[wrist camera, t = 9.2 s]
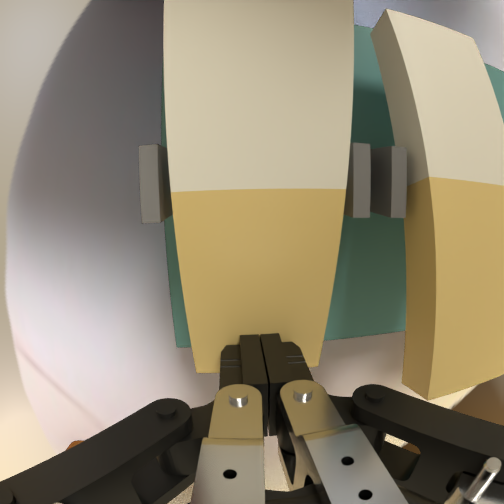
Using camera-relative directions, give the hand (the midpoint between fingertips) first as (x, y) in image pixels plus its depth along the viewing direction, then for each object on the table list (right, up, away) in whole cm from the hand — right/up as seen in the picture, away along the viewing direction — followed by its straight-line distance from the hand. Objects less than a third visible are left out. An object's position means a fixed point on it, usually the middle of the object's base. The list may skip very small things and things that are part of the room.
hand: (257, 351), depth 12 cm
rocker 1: (0, +7, -2) cm, 7 cm away
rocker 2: (+8, +6, -1) cm, 10 cm away
